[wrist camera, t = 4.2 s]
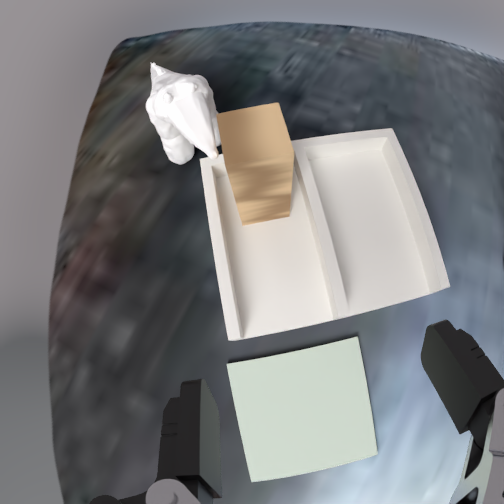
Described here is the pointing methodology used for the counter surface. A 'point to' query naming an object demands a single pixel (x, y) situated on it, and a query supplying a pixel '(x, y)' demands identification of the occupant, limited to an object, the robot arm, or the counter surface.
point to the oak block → (258, 161)
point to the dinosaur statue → (183, 114)
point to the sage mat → (303, 410)
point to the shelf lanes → (325, 238)
